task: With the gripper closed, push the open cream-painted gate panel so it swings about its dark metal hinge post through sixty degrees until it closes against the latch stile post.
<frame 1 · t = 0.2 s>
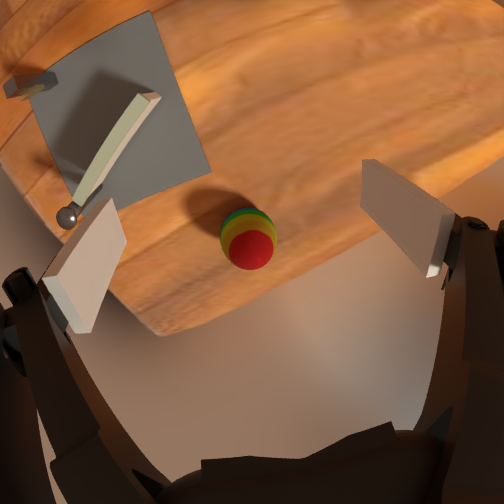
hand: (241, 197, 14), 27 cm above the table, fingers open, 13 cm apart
decorative egg: (245, 224, 46), on the table
latch stile: (52, 81, 28), resting on mat
hinge post: (97, 185, 39), resting on mat
mat: (108, 121, 34), on the table
gate: (117, 144, 31), point 5 cm above the table, hinge at 60.0°
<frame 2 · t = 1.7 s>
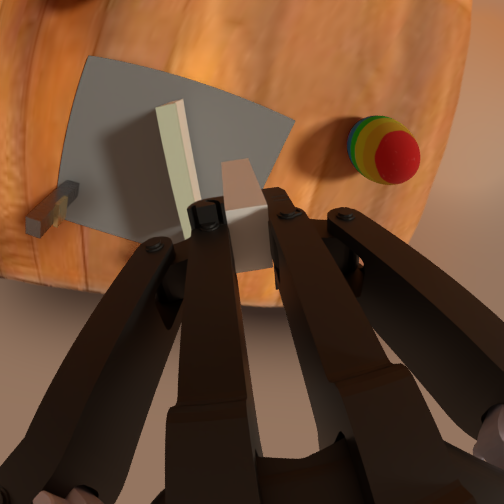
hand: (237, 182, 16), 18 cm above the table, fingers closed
decorative egg: (366, 141, 34), on the table
latch stile: (73, 187, 32), resting on mat
mat: (157, 165, 32), on the table
gate: (186, 173, 28), point 5 cm above the table, hinge at 60.0°
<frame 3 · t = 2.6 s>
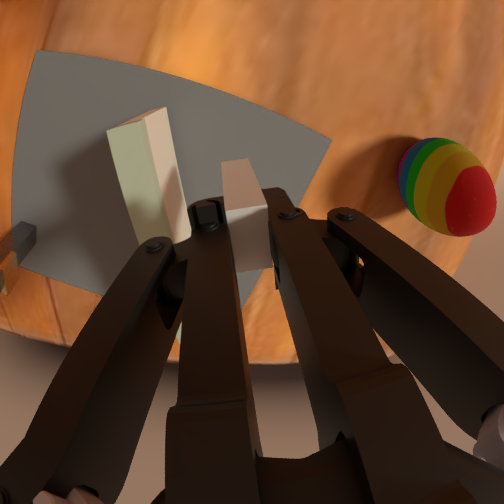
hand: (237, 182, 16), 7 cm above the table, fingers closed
decorative egg: (418, 169, 24), on the table
latch stile: (30, 230, 22), resting on mat
mat: (134, 204, 23), on the table
gate: (171, 225, 19), point 5 cm above the table, hinge at 60.0°
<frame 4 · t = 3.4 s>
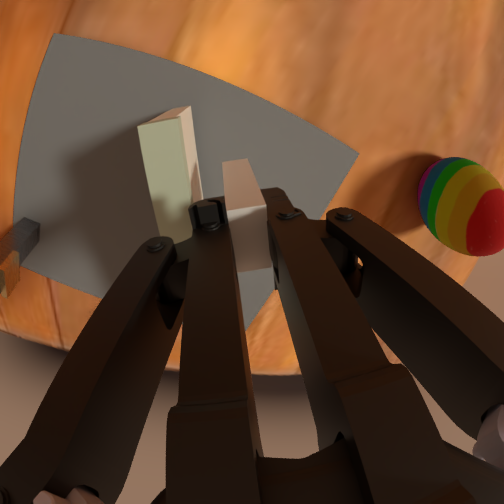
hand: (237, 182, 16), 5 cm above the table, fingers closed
decorative egg: (436, 186, 24), on the table
latch stile: (33, 227, 21), resting on mat
mat: (150, 207, 22), on the table
gate: (193, 234, 18), point 5 cm above the table, hinge at 59.2°, touching gripper
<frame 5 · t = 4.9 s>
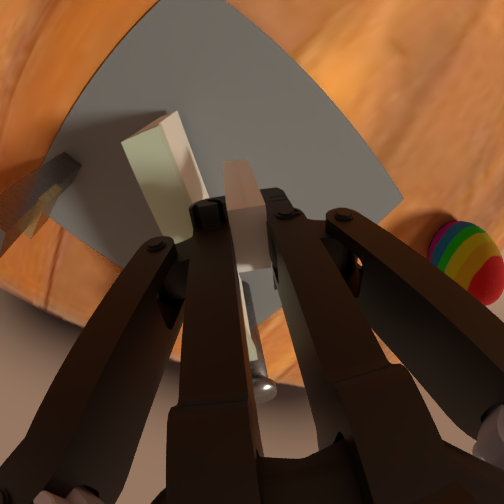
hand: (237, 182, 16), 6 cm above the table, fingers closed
decorative egg: (444, 241, 28), on the table
latch stile: (69, 167, 19), resting on mat
hinge post: (239, 286, 27), resting on mat
mat: (215, 187, 22), on the table
gate: (203, 233, 18), point 5 cm above the table, hinge at 30.0°, touching gripper
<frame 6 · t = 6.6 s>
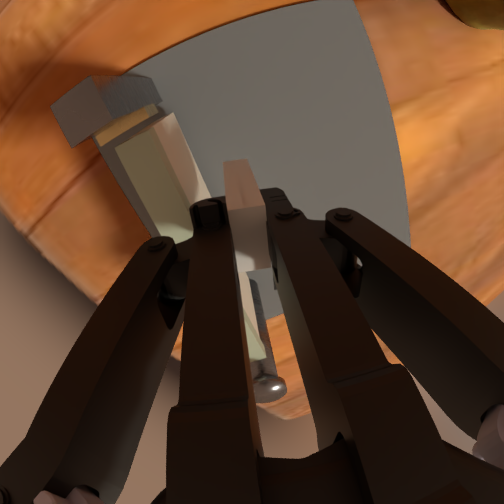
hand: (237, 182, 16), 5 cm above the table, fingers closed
latch stile: (145, 96, 17), resting on mat
hinge post: (247, 285, 27), resting on mat
mat: (278, 185, 22), on the table
gate: (206, 233, 18), point 5 cm above the table, hinge at 2.9°, touching gripper
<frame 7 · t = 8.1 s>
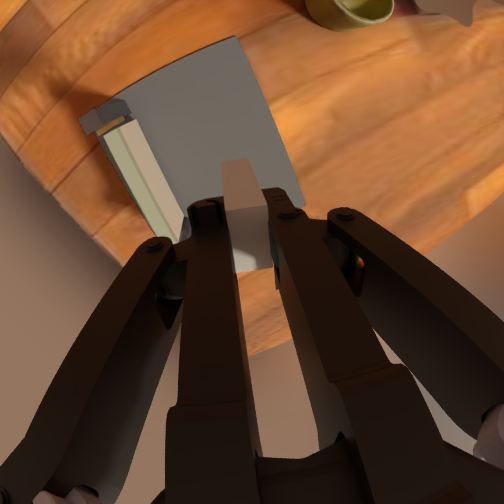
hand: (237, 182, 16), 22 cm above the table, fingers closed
latch stile: (122, 110, 31), resting on mat
mug: (343, 2, 26), on the table
hinge post: (185, 222, 41), resting on mat
mat: (197, 156, 36), on the table
gate: (150, 180, 32), point 5 cm above the table, hinge at 2.8°
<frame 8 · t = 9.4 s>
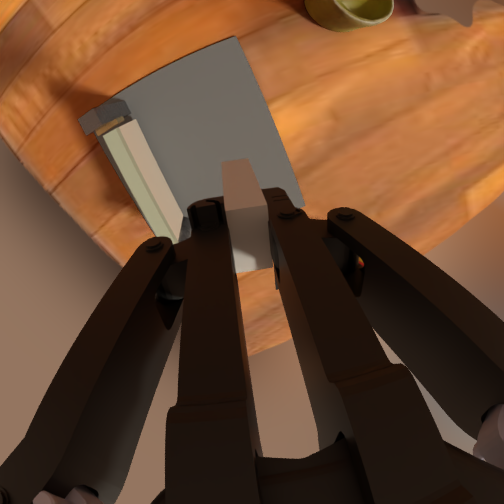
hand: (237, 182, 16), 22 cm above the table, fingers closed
latch stile: (122, 110, 31), resting on mat
mug: (343, 2, 26), on the table
hinge post: (185, 222, 41), resting on mat
mat: (197, 156, 36), on the table
gate: (149, 179, 32), point 5 cm above the table, hinge at 2.8°
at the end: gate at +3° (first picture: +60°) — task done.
